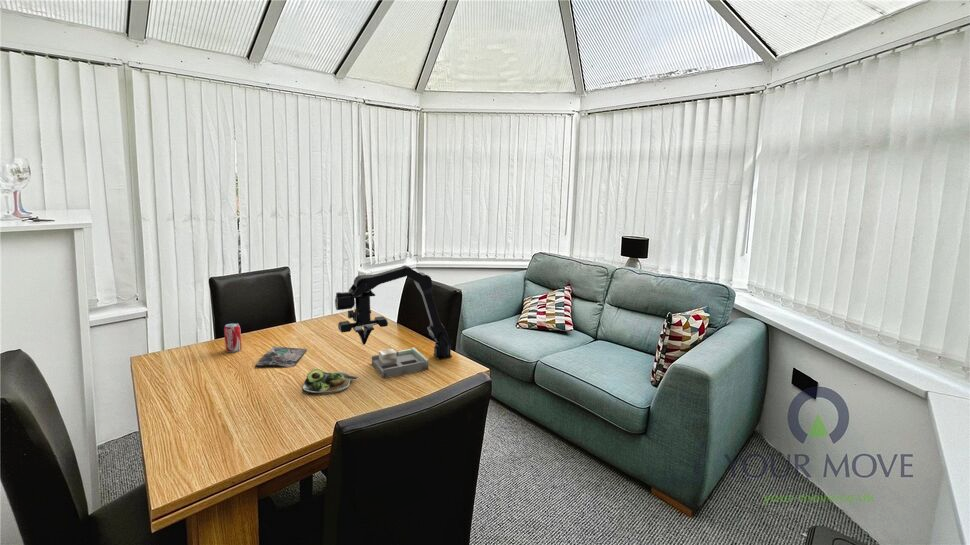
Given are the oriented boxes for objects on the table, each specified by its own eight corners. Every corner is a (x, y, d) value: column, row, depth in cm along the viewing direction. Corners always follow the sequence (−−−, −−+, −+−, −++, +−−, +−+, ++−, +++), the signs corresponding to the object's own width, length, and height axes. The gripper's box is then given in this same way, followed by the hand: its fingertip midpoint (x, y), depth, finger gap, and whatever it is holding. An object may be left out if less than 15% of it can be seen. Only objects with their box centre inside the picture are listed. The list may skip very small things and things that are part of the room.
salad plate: (358, 373, 177) (358, 362, 176) (356, 393, 160) (356, 381, 159) (308, 376, 173) (307, 365, 172) (299, 397, 156) (299, 385, 155)
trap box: (413, 355, 195) (413, 347, 194) (428, 369, 182) (428, 360, 181) (371, 363, 186) (371, 354, 185) (384, 378, 172) (383, 368, 171)
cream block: (392, 357, 188) (392, 348, 187) (396, 361, 184) (396, 352, 183) (379, 359, 185) (378, 350, 184) (382, 364, 181) (382, 354, 180)
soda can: (245, 349, 196) (242, 324, 193) (230, 354, 190) (228, 328, 188) (237, 346, 199) (235, 321, 196) (223, 350, 194) (220, 325, 191)
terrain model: (293, 368, 180) (293, 361, 179) (255, 369, 178) (254, 361, 177) (308, 350, 199) (308, 343, 199) (274, 350, 198) (273, 343, 197)
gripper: (379, 299, 186) (380, 334, 189) (334, 304, 176) (335, 341, 179) (388, 306, 176) (388, 343, 180) (340, 312, 167) (342, 350, 170)
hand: (363, 344), depth 177 cm, fingers closed
